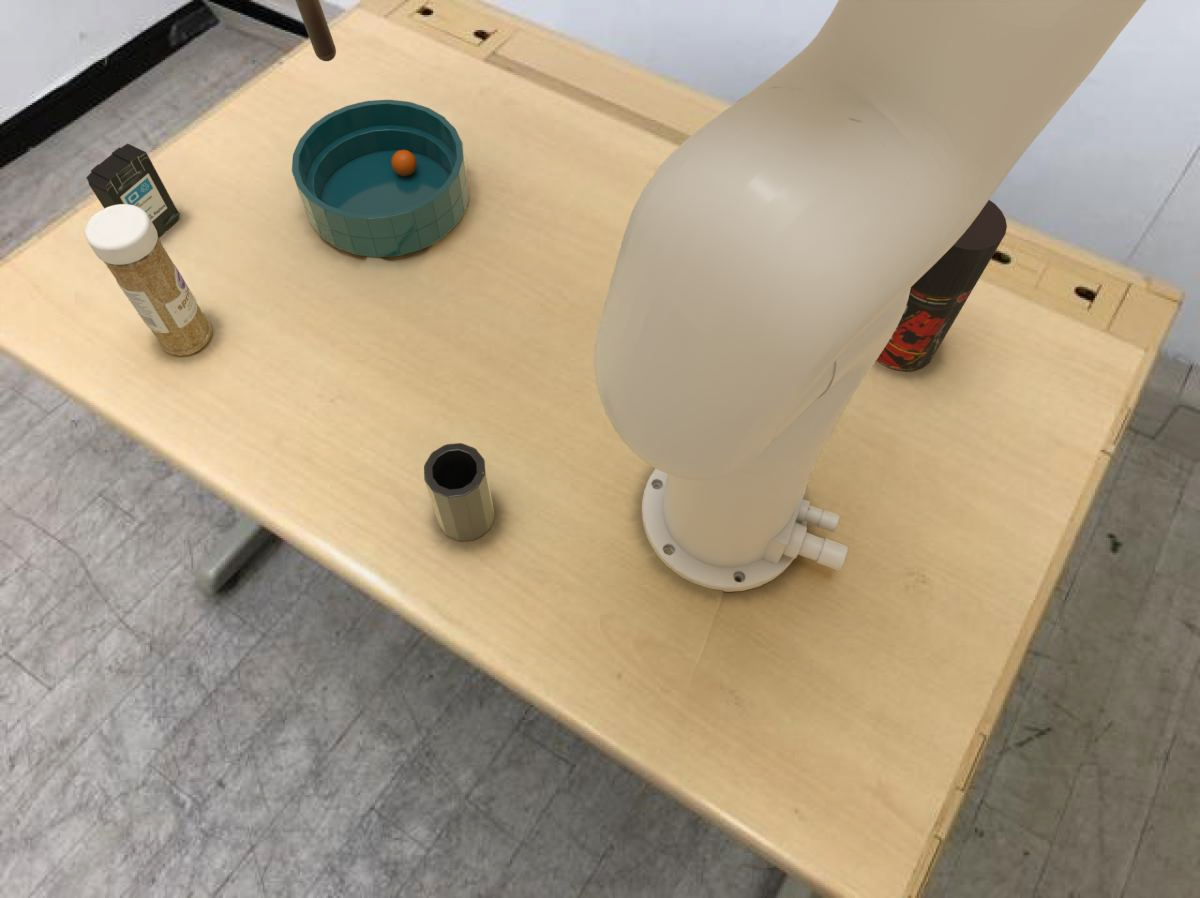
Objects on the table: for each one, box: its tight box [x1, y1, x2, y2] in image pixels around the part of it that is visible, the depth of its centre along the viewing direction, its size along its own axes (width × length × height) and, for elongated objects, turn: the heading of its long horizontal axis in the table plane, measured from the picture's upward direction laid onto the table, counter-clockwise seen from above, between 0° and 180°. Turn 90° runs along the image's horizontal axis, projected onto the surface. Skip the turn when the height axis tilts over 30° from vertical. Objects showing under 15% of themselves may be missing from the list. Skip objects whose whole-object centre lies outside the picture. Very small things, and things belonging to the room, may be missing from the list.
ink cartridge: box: [85, 143, 181, 239], centre depth 78 cm, size 5×2×8 cm, turn 150°
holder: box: [423, 442, 495, 542], centre depth 64 cm, size 4×4×8 cm
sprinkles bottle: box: [84, 204, 213, 357], centre depth 70 cm, size 5×5×13 cm
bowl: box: [291, 99, 470, 258], centre depth 82 cm, size 15×15×6 cm
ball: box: [391, 150, 417, 176], centre depth 84 cm, size 2×2×2 cm
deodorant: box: [876, 199, 1008, 372], centre depth 71 cm, size 6×6×15 cm
